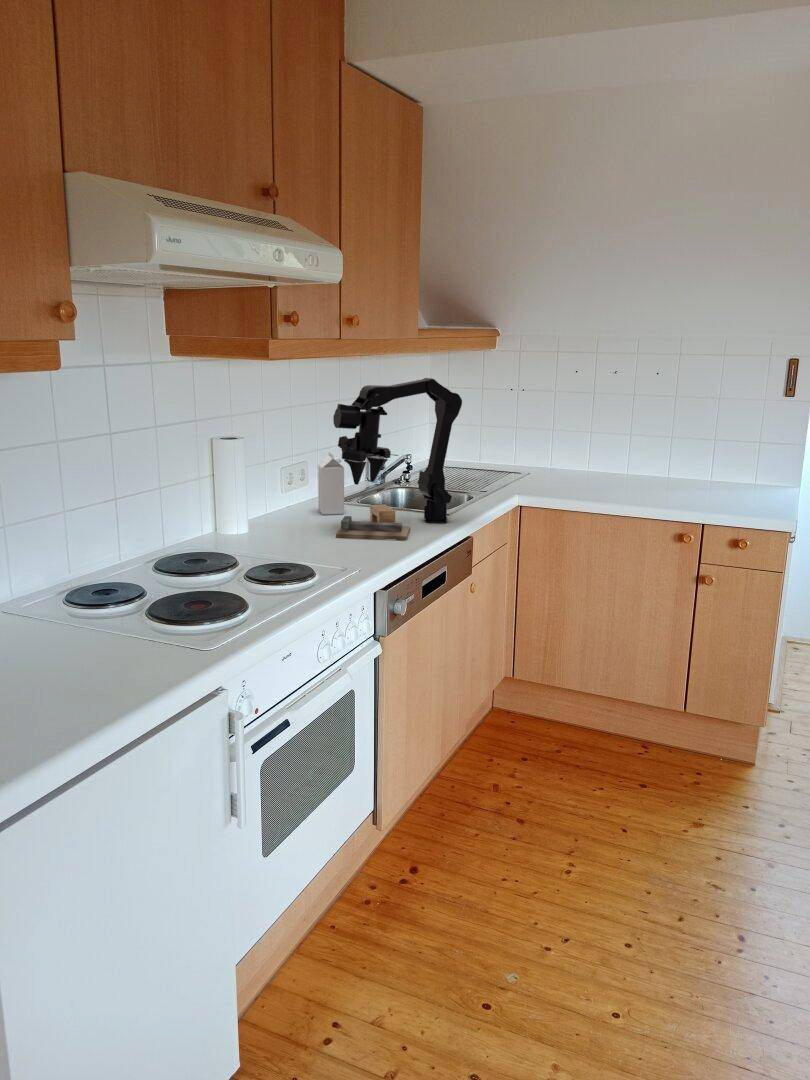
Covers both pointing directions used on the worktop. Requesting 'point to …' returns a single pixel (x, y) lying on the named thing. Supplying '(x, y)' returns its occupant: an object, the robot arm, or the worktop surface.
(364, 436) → the robot arm
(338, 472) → the milk carton
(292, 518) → the worktop surface
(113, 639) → the worktop surface
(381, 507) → the block
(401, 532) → the rail board
